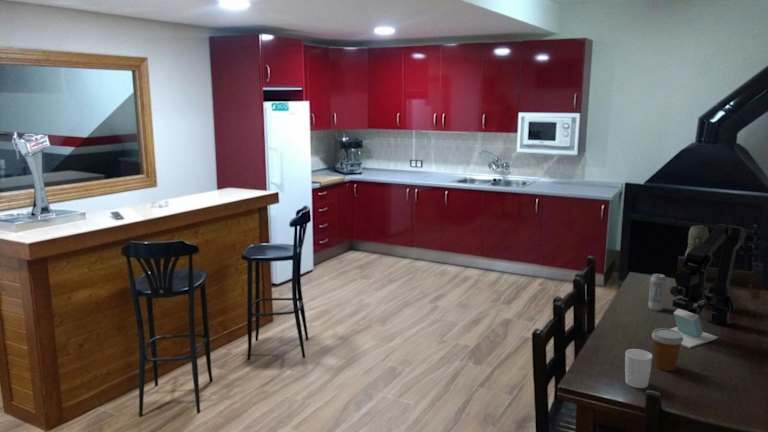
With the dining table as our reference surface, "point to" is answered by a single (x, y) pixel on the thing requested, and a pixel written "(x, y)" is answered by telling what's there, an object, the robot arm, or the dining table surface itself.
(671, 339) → the disposable coffee cup
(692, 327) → the slab
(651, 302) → the energy drink can
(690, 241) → the thermos
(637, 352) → the white cup
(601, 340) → the dining table surface
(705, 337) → the mat
